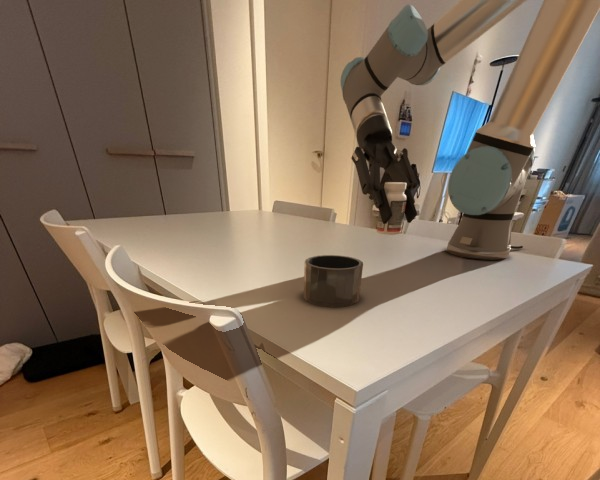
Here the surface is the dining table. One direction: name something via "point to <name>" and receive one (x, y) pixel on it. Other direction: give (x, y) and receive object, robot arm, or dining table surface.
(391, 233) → the pill bottle
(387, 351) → the dining table surface
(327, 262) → the cylindrical container
